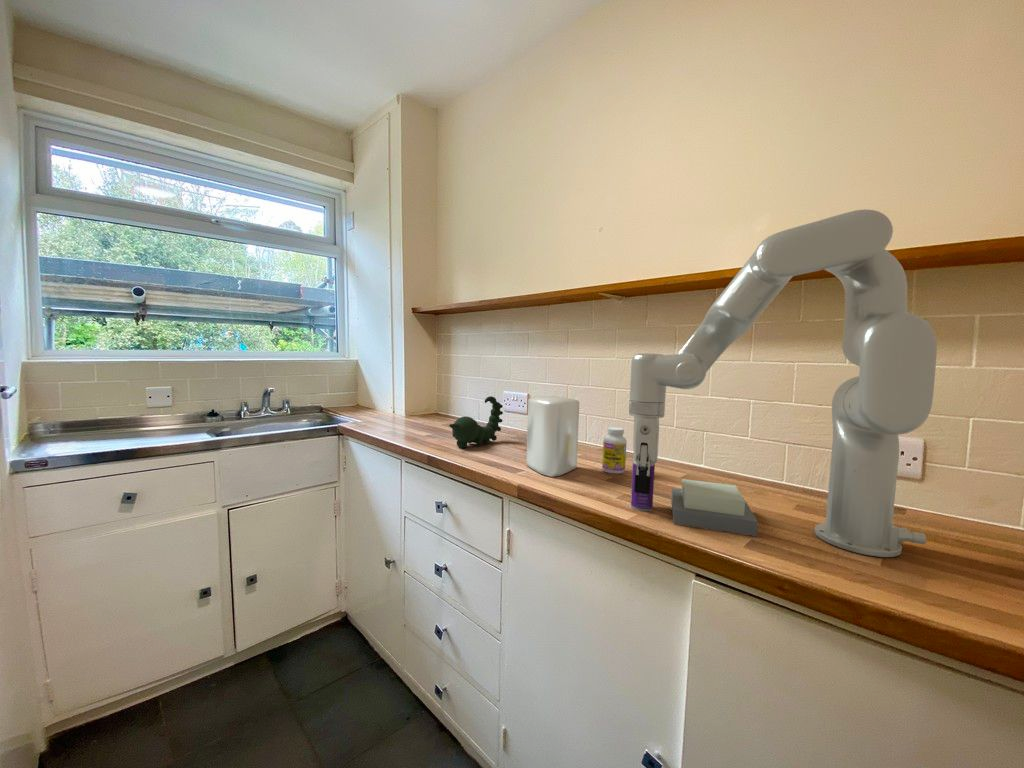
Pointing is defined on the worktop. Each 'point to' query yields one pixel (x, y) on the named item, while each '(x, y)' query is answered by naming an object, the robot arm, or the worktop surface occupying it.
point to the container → (638, 499)
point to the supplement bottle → (614, 451)
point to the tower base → (712, 518)
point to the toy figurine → (477, 427)
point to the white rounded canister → (552, 435)
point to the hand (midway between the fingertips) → (642, 488)
